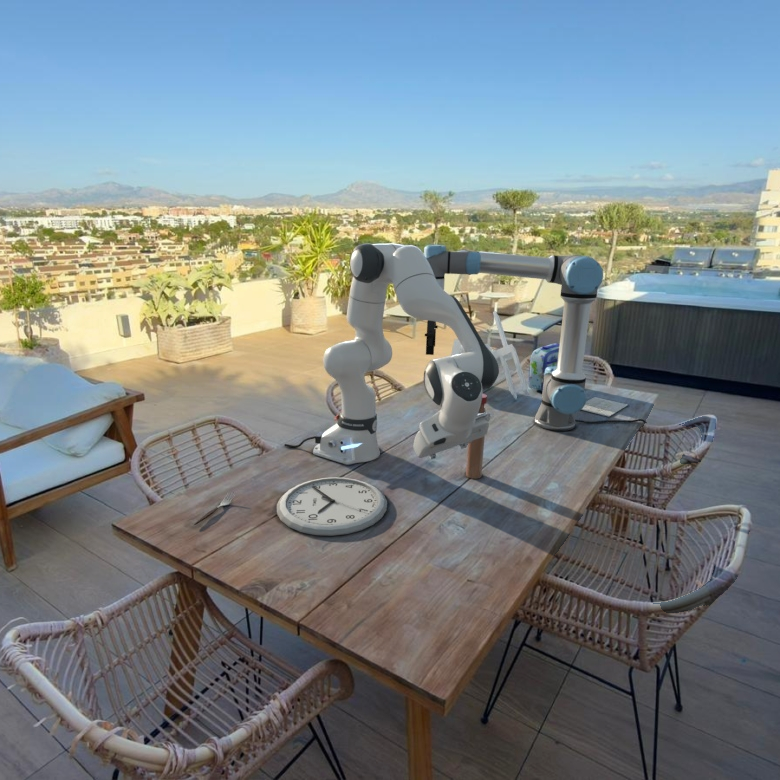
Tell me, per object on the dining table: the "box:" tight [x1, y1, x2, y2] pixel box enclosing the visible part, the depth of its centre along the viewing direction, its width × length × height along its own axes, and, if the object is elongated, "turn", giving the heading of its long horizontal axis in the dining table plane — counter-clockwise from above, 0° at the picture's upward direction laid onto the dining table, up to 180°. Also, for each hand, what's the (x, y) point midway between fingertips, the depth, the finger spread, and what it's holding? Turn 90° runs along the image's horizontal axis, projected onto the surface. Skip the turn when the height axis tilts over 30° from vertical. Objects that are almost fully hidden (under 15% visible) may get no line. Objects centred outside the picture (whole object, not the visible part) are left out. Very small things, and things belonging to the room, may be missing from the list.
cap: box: [481, 393, 488, 405], centre depth 154 cm, size 4×4×2 cm
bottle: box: [465, 404, 487, 480], centre depth 158 cm, size 5×5×26 cm
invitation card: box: [580, 396, 629, 418], centre depth 226 cm, size 21×1×15 cm
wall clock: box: [276, 476, 388, 537], centre depth 142 cm, size 30×2×30 cm
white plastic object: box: [450, 310, 531, 400], centre depth 245 cm, size 37×45×31 cm
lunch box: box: [528, 343, 560, 392], centre depth 249 cm, size 26×11×21 cm, turn 134°
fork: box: [193, 490, 237, 526], centre depth 138 cm, size 3×16×2 cm, turn 160°
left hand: (447, 451), depth 141 cm, fingers open, 8 cm apart
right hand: (430, 350), depth 189 cm, fingers open, 13 cm apart
